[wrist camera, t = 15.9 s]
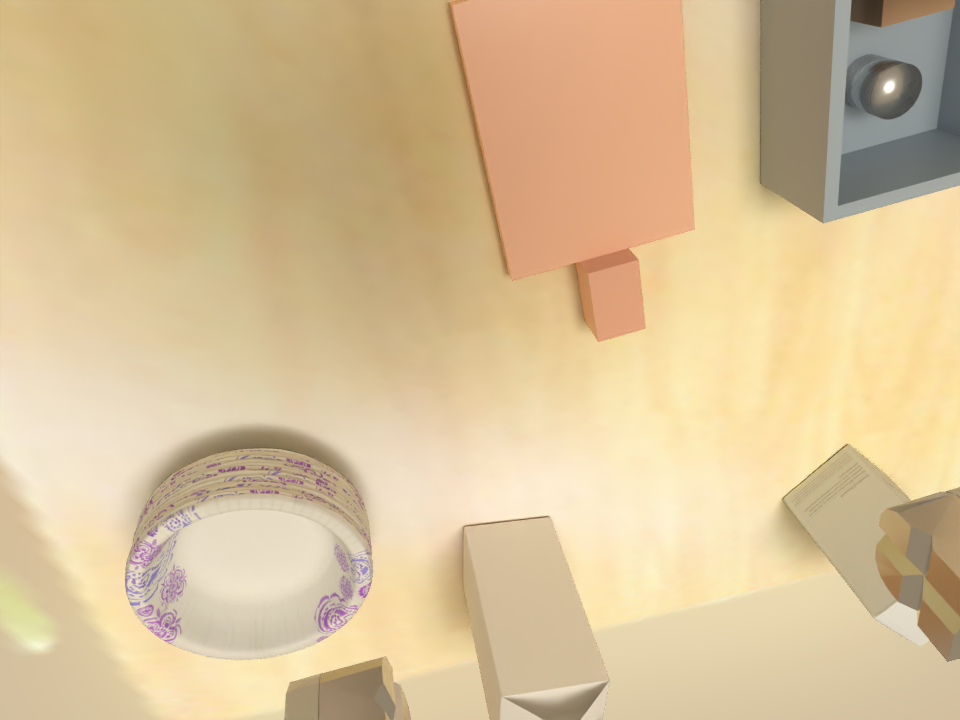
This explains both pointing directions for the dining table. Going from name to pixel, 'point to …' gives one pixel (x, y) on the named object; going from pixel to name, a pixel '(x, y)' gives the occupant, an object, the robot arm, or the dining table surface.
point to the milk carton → (530, 625)
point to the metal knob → (882, 86)
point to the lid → (581, 138)
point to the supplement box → (854, 530)
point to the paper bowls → (250, 555)
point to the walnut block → (894, 10)
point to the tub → (848, 131)
